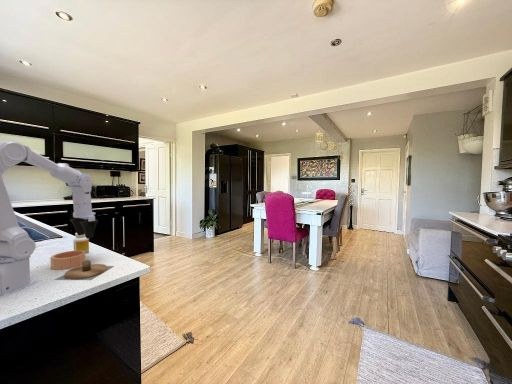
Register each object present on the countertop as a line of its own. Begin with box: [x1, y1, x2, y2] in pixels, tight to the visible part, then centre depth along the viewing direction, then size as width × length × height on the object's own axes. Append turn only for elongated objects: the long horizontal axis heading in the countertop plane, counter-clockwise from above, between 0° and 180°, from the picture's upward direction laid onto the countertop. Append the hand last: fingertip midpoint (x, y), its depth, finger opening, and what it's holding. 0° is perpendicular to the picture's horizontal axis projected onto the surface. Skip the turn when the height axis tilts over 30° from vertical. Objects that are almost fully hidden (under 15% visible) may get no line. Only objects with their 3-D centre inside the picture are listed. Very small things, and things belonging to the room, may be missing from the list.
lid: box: [63, 260, 108, 281], centre depth 79 cm, size 12×12×4 cm
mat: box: [54, 265, 115, 281], centre depth 79 cm, size 12×12×1 cm
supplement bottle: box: [73, 232, 90, 255], centre depth 100 cm, size 5×5×10 cm
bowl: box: [50, 250, 87, 271], centre depth 86 cm, size 10×10×4 cm
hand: (85, 236), depth 91 cm, fingers open, 7 cm apart
